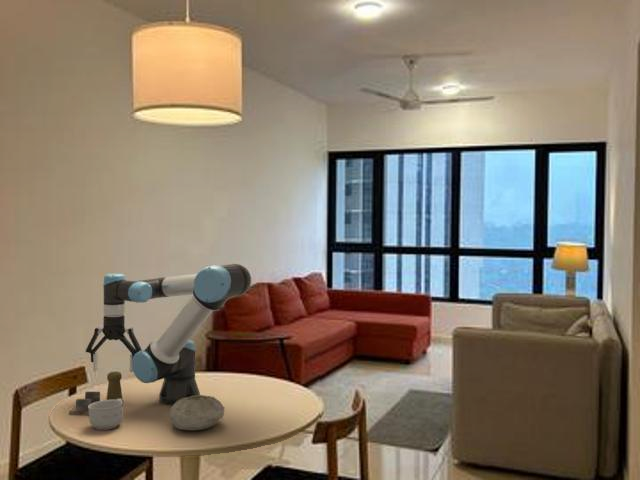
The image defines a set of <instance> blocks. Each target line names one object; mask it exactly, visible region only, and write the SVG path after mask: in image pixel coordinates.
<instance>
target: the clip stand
mask: <svg viewBox="0 0 640 480" xmlns="http://www.w3.org/2000/svg"><path fill="white" fill-rule="evenodd" d="M98 401H101V391H85V392H84V398H76V399H75V406H73V407H72V408H71V409H70V410H69V411H68V415H89V409H88V406H89V405H90V404H92V403H94V402H98Z"/></svg>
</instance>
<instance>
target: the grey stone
mask: <svg viewBox="0 0 640 480" xmlns="http://www.w3.org/2000/svg"><path fill="white" fill-rule="evenodd" d="M170 406H171V407H170V412H169V418H170V420H171V421H170V422H171V423H172V424H173V425H174V426H175V427H176V428H177V429H179V430H184V431H193V432H195V431H201V430H202V431H203V430H207V429H209V428H211V427H213V426H215V425H217V424H218V423H219V422H220V421H221V420H222V419H223V417H224V415H225V406H224V405H223V404H222V402H221V401H220V400H218V399H217V398H216V397H214V396H210V395H201V394H200V395H195V396H194V395H193V396H190V397H186V398H182V399H180V400H178V401H177V402H176V403H175V404H174V405H170Z"/></svg>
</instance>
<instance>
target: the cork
mask: <svg viewBox="0 0 640 480" xmlns="http://www.w3.org/2000/svg"><path fill="white" fill-rule="evenodd" d="M106 377H107V381H108V385H107V392H106V398H105V400H117V399H123V393H122V392H123V391H122V385H121V379H122V377H123V376H122V372H120V371H110V372H108V373H107V376H106ZM123 400H124V399H123Z"/></svg>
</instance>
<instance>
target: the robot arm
mask: <svg viewBox="0 0 640 480" xmlns="http://www.w3.org/2000/svg"><path fill="white" fill-rule="evenodd" d="M125 277H126V276H125V274H124V273H108V274H105V275H104V277H103V285H102V286H103V287H102V288H103V321H102V322H103V323H102V324H103V327H102V328H101V327H100V326H96V327H95V328H94V332H93V335H92V338H91V339H90V341H89V343H88V344H87V347H86V349H85V353H89V354H90V363H92V364H93V366H92V367H93V370H92V371H93V373H96V372H97V371H98V370H99V369H98V368H99V366H98V364H99V360H98V359H99V354H98V353H99V352H97V351H98V350H99V349H100V348H101V347H102V345H104V343H105V342H106V341H107V340H109V341H113V340H114V341H120V342H121V343H122V344H123V345H124V346H125V348H126V349H127V350H128V351H129V352H130V353H131V354H129V372H130V373H133V374H134V376H135V377H136V379H137V380H138V381H140V382H141V383H142V384H150V383H156V382H157V381H160V380H163V381H162V384H161V388H160V391H159V395H158V401H159V403H160V404H163V405H166V406H167V405H168V406H169V405H170V406H173V405H174V404H175V403H176V402H177V401H178V400H180V399H182V398H186V397H190V396H193V395H194V396H195V395H201V393H200V389H199V387H198V383H197V380H196V344H195V341H194V340H191V338H192V337H193V336H194V335H195V334H196V332H197V331H198V330H199V329H200V328H201V326H202V325H203V323H205V321H206V320H207V319H208V318H209V316H210V315H211V313H213V312H217V311H220V310H221V308H222V307H223V306H224V305H225V304H226V302H227V301H228V300H230V299H233V298H238V297H241V296H243V295H244V294H246V293H247V292H248V290H249V289H250V287H251V285H252V276H251V273H250V272H249V270H248V268H246V267H245V266H243V265H242V264H239V263H231V264H222V265H217V264H216V265H215V264H214V265H210V266H207V267H204V268H202V269H200V270H199V271H198V272H197V273H194V274H193V273H192V274H183V275H176V276H175V275H174V276H167V277H165V276H164V277H157V278H152V279H151V278H150V279H141V280H126V278H125ZM181 296H191V298H190V299H189V300H188V301H187V303H186V304H185V305H184V306H183V308H182V309H181V310H180V311H179V313H178V314H177V315H176V316H175V318H174V319H173V320H172V321H171V323H170V324H169V326H168V327H167V328H166V329H165V331H164V332H163V333H162V335H161V336H160V337H157V338H154V339H153V340H152V341H151V342H149V344H148V346H147V347H146V348H145V349H142V348H141V345H140V344H139V340H138V339H137V337H136V335H135V333H134V328H133V327H128V328H126V327H125V315H124V314H125V310H126V309H125V305H126V303H125V302H132V303H133V302H134V303H136V304H139V303H143V304H144V303H146V302H148V301H149V300H153V299H161V298H170V297H181ZM101 333H103V335H104V336H103V337H102V338H101V339H100V340H99V342H98V343H97V344H96V345H95V346H94V344H95V343H96V341H97V339H98V337H99V335H100V334H101ZM125 333H126V335H128V336H129V339H130V340H131V342H130V341H129V340H128V339H127V337H126V336H125ZM131 343H132V344H131ZM93 347H94V348H93Z"/></svg>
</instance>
